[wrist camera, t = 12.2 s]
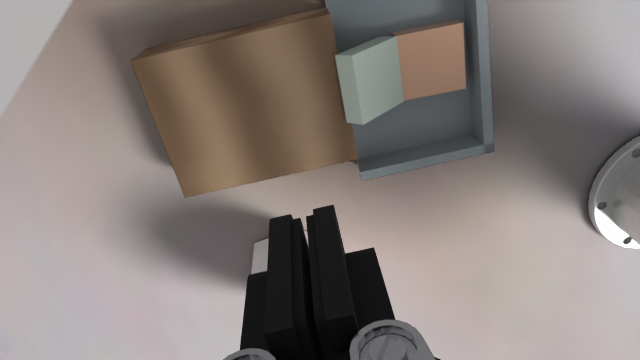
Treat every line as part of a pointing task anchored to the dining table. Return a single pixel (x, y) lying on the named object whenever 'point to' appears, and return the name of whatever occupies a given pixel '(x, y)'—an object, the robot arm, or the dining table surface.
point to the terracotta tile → (432, 59)
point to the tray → (430, 111)
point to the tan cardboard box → (249, 102)
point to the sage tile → (370, 79)
